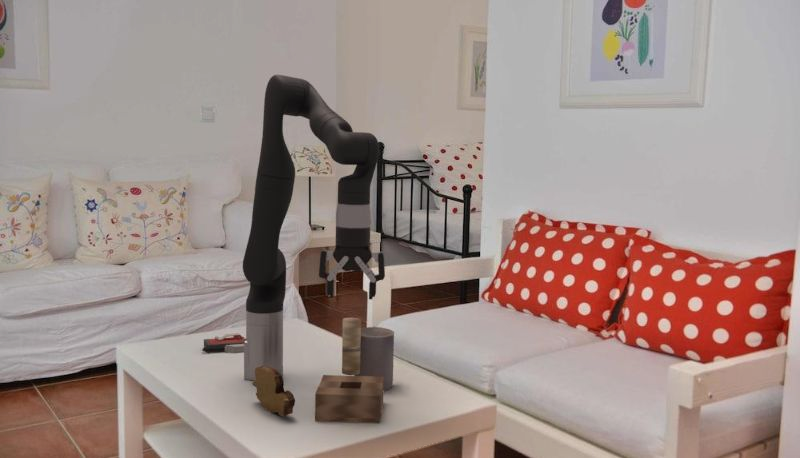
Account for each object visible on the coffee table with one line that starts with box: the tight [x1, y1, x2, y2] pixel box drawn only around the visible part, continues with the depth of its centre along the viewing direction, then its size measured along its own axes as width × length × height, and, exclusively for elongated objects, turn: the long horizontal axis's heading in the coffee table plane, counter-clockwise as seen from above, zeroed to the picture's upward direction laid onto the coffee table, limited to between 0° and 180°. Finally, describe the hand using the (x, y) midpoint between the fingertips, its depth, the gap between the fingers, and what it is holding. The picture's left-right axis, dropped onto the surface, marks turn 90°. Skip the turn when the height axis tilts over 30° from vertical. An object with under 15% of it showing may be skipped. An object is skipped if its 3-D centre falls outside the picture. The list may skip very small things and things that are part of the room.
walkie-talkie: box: [201, 332, 246, 354], centre depth 231 cm, size 9×4×20 cm
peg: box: [341, 317, 362, 376], centre depth 179 cm, size 4×4×12 cm
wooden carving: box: [251, 366, 296, 417], centre depth 179 cm, size 16×5×10 cm, turn 40°
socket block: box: [314, 374, 385, 424], centre depth 180 cm, size 14×14×6 cm
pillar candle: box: [353, 326, 395, 392], centre depth 198 cm, size 10×10×15 cm
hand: (351, 298), depth 177 cm, fingers open, 8 cm apart
